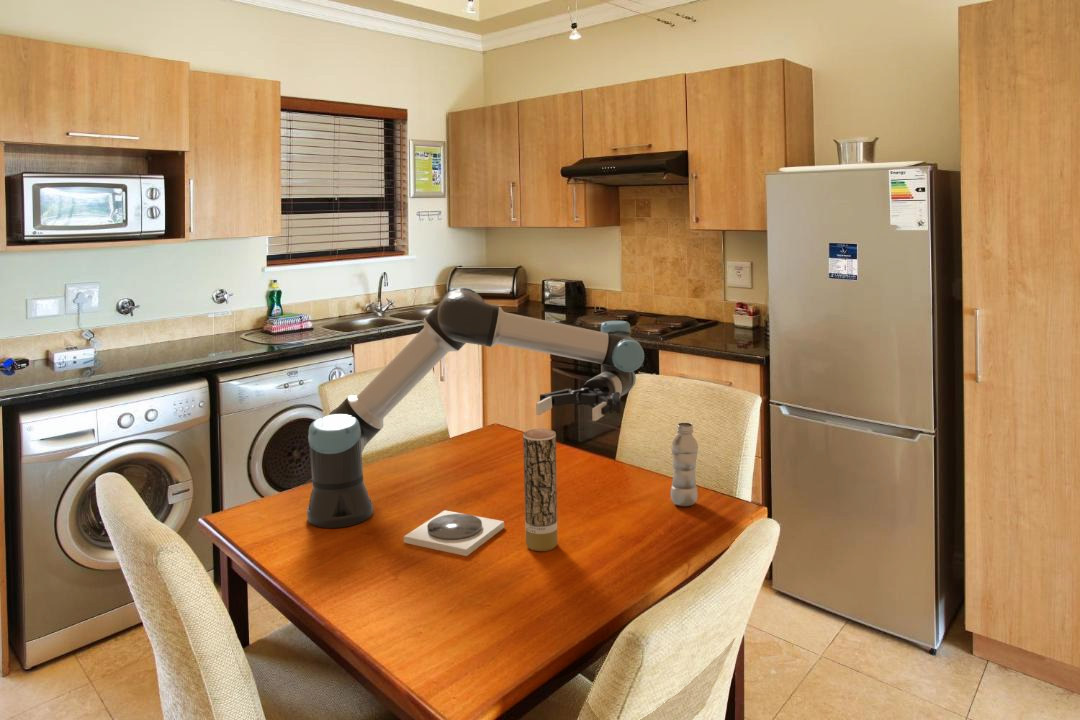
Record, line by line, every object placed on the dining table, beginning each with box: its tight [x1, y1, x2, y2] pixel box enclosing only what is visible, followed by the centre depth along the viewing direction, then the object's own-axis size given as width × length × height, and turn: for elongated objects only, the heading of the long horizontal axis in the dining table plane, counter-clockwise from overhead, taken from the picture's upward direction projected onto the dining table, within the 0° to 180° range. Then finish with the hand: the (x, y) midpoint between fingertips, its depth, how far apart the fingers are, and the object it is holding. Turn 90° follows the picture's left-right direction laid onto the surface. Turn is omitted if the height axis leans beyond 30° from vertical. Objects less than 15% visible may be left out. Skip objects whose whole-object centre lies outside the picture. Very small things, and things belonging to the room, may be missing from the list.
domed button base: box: [403, 510, 505, 557], centre depth 169 cm, size 16×16×2 cm
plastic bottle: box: [670, 422, 699, 507], centre depth 183 cm, size 6×7×20 cm
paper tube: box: [522, 428, 558, 552], centre depth 161 cm, size 7×7×25 cm
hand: (565, 412), depth 168 cm, fingers open, 13 cm apart
